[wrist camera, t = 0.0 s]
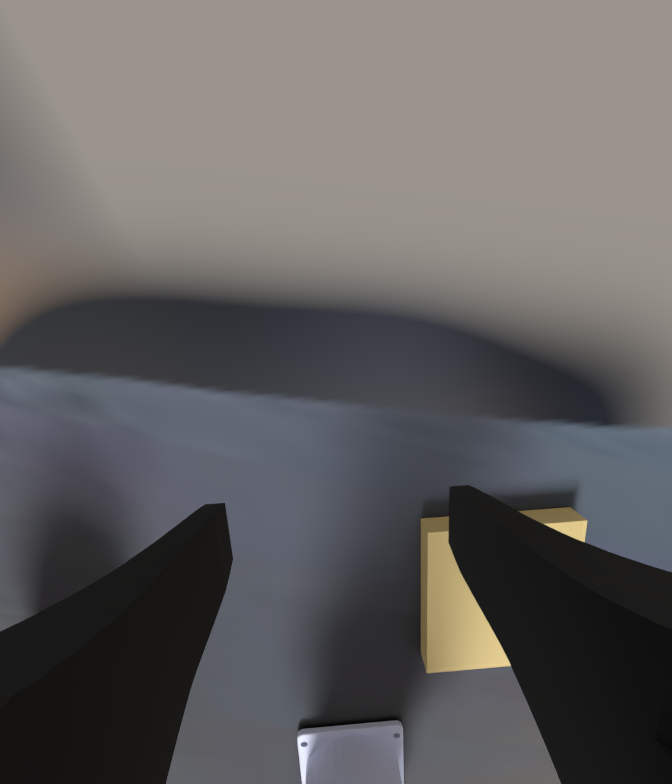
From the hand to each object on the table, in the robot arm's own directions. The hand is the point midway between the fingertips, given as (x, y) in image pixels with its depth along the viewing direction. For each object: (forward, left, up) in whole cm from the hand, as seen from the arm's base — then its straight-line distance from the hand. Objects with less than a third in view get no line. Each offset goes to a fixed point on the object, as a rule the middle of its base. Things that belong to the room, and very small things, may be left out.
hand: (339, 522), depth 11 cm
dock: (-12, -10, -10) cm, 19 cm away
